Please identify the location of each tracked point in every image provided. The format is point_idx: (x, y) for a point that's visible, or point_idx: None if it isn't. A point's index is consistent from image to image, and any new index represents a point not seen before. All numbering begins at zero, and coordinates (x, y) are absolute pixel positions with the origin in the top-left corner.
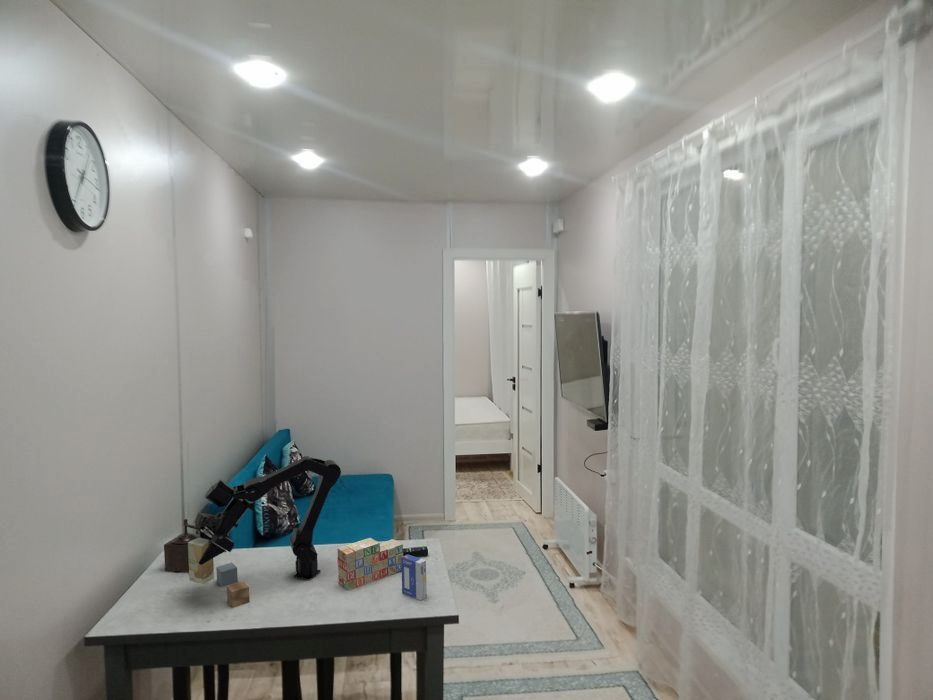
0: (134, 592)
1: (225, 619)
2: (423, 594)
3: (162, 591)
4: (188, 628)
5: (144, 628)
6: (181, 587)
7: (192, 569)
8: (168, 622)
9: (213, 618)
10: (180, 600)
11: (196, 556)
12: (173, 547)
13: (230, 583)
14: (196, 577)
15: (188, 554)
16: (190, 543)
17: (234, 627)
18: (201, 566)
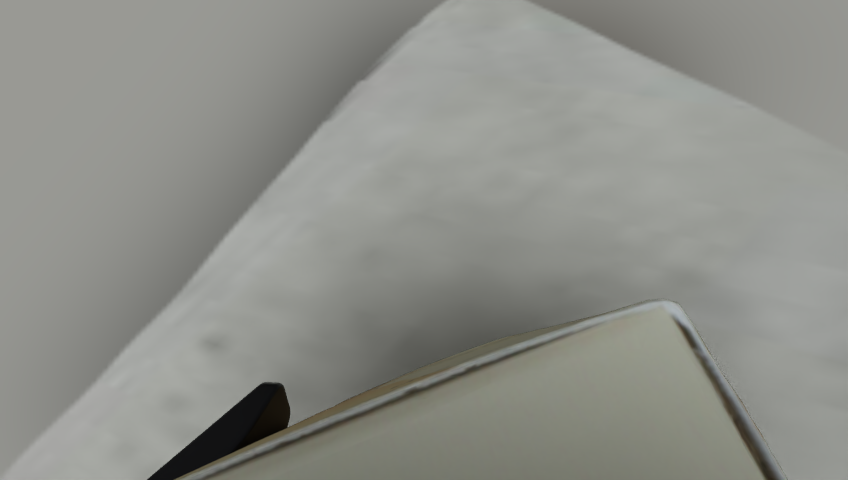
0: (812, 143)
1: (161, 417)
2: None
3: (732, 258)
4: (229, 250)
5: (378, 113)
6: (722, 359)
7: (463, 352)
8: (352, 198)
9: (220, 372)
10: (543, 303)
11: (356, 398)
12: None
13: None
14: (415, 370)
15: (556, 325)
16: (518, 341)
17: (57, 420)
18: (309, 417)
